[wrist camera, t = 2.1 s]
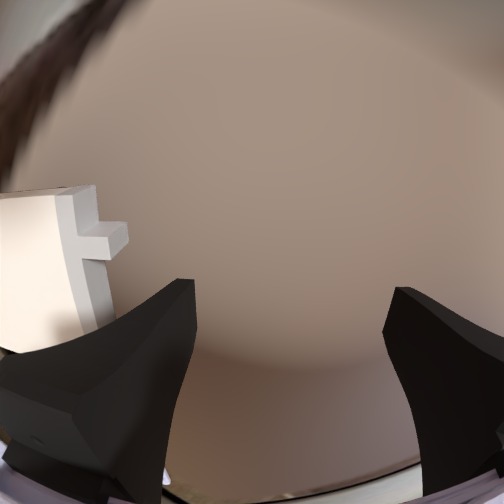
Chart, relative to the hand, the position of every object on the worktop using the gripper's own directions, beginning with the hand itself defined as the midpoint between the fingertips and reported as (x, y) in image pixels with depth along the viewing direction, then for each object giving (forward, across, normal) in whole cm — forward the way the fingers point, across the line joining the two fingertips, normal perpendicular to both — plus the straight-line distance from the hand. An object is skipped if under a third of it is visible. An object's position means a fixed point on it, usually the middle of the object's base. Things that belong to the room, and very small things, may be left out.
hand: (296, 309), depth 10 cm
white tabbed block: (+2, +13, 0) cm, 13 cm away
